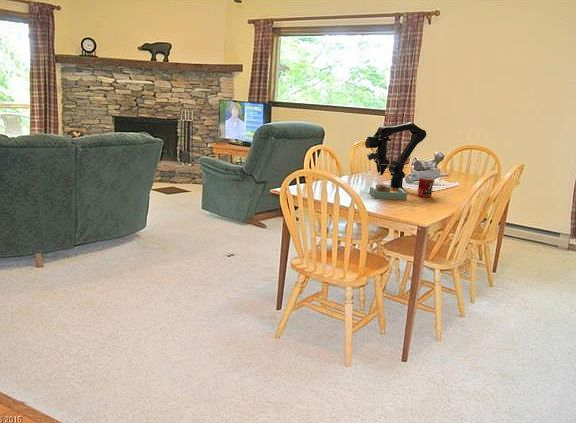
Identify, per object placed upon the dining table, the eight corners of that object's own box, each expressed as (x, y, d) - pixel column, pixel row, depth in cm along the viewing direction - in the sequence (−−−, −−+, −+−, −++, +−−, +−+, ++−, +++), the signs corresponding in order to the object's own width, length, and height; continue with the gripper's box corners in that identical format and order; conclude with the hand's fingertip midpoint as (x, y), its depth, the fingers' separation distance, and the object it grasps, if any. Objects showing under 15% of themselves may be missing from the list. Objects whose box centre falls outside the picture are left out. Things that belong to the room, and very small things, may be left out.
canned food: (423, 198, 296) (426, 178, 293) (414, 195, 303) (416, 176, 300) (434, 197, 299) (436, 178, 297) (424, 194, 306) (426, 175, 304)
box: (400, 194, 304) (401, 188, 303) (406, 199, 290) (407, 193, 289) (369, 192, 303) (369, 186, 302) (373, 198, 289) (374, 192, 288)
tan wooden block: (387, 191, 313) (387, 185, 312) (389, 193, 306) (390, 187, 305) (375, 190, 312) (375, 184, 312) (377, 192, 306) (378, 186, 305)
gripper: (366, 145, 325) (364, 170, 328) (371, 149, 307) (369, 176, 310) (384, 146, 325) (381, 171, 329) (390, 150, 307) (388, 176, 311)
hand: (379, 173), depth 320 cm, fingers open, 9 cm apart
